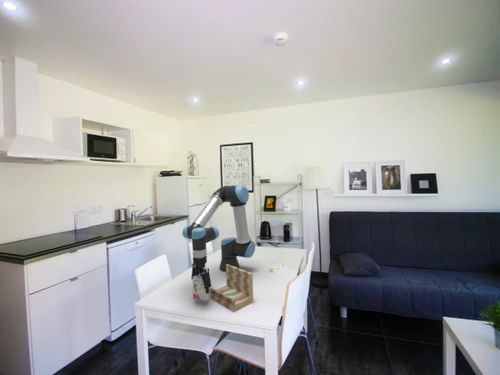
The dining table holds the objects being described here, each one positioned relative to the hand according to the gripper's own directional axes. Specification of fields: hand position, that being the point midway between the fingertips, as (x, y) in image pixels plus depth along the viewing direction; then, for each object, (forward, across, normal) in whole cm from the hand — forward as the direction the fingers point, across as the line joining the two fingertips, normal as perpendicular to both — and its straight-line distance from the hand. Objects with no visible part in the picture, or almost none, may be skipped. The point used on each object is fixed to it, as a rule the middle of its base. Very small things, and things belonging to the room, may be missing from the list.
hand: (201, 295), depth 139 cm
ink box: (+1, 0, 0) cm, 1 cm away
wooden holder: (+4, +9, +13) cm, 17 cm away
